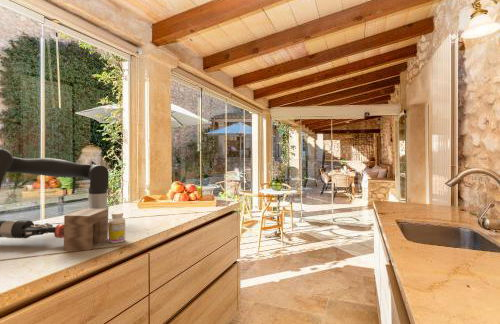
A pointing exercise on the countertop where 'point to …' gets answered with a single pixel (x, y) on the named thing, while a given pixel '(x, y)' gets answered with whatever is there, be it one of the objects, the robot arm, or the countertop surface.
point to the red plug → (60, 231)
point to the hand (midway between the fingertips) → (58, 229)
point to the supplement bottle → (117, 228)
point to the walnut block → (85, 228)
